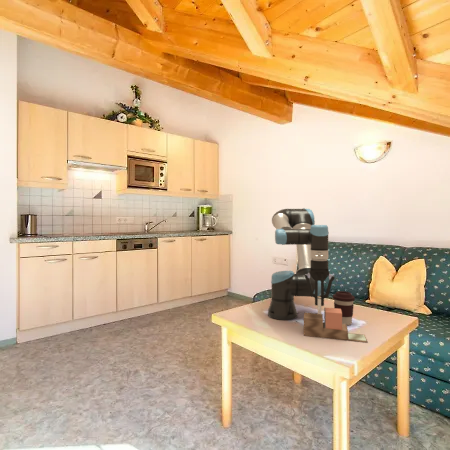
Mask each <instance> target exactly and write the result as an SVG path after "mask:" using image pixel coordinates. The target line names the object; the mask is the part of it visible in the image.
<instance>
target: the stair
mask: <svg viewBox="0 0 450 450" xmlns="http://www.w3.org/2000/svg"><path fill="white" fill-rule="evenodd" d="M347 326H348V325H346V324H342V330H337V329H327V328H325V327H324V313H323V314H322V313H321V314H318V313H312V312H304V313H303V336H304V337H312V338H322V339H329V340H330V339H331V340H338V341H339V340H340V341H349V342H356V343H367V344H368V339H367V336H366V334H361V333H354V332H349V330H348V327H347Z"/></svg>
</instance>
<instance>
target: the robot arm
mask: <svg viewBox="0 0 450 450" xmlns="http://www.w3.org/2000/svg"><path fill="white" fill-rule="evenodd" d="M271 223H272V226H273V227H274V228H275V231H274V241H275V244H276V245H281V246H283V245H284V246H285V245H288V246H290V245H291V246H292V245H293V246H294V245H296V254H297V263H298V269H297V270H296V273H295V272H294V270H280V271H276V272H273V273H272V275H271V280H270V283H271V292H270V293H271V294H270V295H271V301H270V304H269V307H268V311H267V314H268V315H267V316H268V317H270V318H272V319H273V320H274V319H275V320H279V321H280V320H283V321H289V320H290V321H291V320H295V319H297V318H298V310H297V307H296V304H295V299H294V298H295V297H306V298H307V297H312V298H314V305H315V306H317V314H322V307H325V306H324V305H325V304H324V303H325V299H328V298H329V295H330V292H331V288H332V284H333V281H334V280H335V275H333V274H331V273H330V271H329V260H328V259H329V227H328V225H327V224H315V223H316V221H315V215H314V211H313V210H312V209H310V208H305V207H303V208H284V209H283V208H282V209H280V210H277V211H276V212H275V213H274V214H273V216H272V217H271ZM326 279H328V283H327V287H326V291H325V280H326Z"/></svg>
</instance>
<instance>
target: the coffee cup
mask: <svg viewBox="0 0 450 450" xmlns="http://www.w3.org/2000/svg"><path fill="white" fill-rule="evenodd" d="M332 299H333V300H334V302H333V308H337V309H341V311H342V324H346V325H347V326H351V325H352V324H353V323H352V321H353V315H354V301H355V300H356V296H354V295H353V294H352V293H351V292H349V291H342V290H341V291H340V290H339V291H336V292H335V293H334V294H333V295H332Z"/></svg>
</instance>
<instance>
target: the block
mask: <svg viewBox="0 0 450 450" xmlns="http://www.w3.org/2000/svg"><path fill="white" fill-rule="evenodd" d="M323 307H324V309H323V312H324V313H323V322H324V327H325V328H327V329H337V330H342V311H341V309H337V308H334V307H325V306H323Z"/></svg>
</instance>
